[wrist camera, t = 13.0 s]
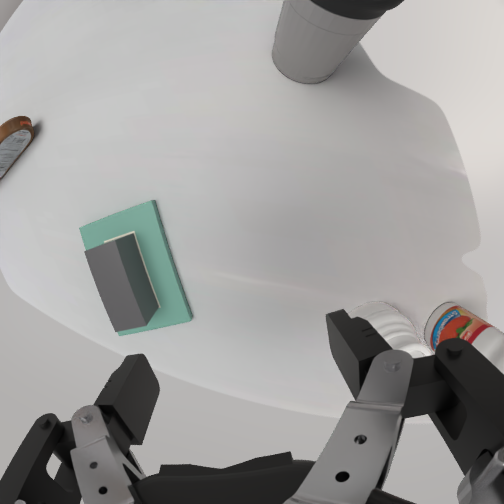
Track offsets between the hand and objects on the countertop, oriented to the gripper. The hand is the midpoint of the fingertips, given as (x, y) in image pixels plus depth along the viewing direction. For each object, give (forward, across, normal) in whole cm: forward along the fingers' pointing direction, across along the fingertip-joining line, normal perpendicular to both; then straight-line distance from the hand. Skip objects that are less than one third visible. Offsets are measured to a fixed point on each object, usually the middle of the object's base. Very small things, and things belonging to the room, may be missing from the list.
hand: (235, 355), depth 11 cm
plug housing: (+25, +15, +1) cm, 29 cm away
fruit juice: (+26, -32, +24) cm, 48 cm away
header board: (+26, +15, +1) cm, 30 cm away
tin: (+27, +34, -25) cm, 50 cm away
